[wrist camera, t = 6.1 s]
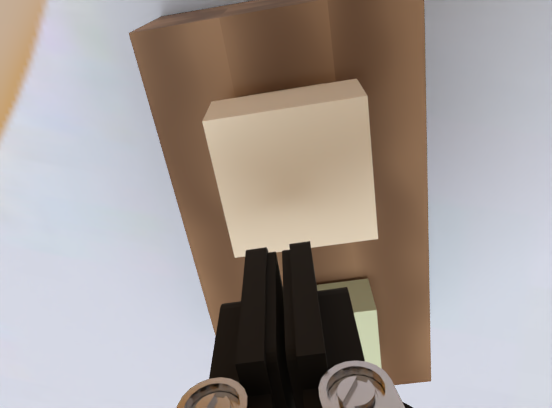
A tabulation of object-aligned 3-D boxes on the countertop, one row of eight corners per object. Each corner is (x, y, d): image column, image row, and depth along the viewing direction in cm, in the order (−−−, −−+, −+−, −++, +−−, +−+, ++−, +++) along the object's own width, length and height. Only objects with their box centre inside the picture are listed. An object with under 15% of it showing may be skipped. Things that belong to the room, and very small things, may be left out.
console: (392, -24, 24) (423, -18, 19) (407, 314, 34) (430, 381, 29) (160, 16, 25) (128, 33, 20) (241, 334, 35) (234, 402, 30)
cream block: (343, 56, 22) (367, 95, 16) (353, 167, 25) (378, 238, 18) (223, 75, 23) (202, 121, 16) (246, 182, 25) (234, 257, 19)
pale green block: (356, 234, 29) (376, 309, 23) (363, 306, 32) (383, 392, 25) (264, 246, 30) (260, 323, 23) (278, 316, 32) (278, 403, 26)
